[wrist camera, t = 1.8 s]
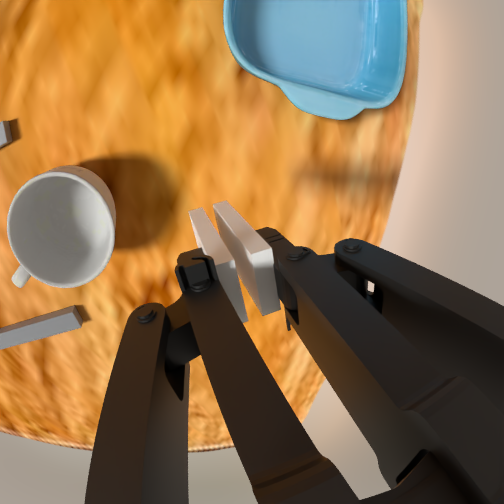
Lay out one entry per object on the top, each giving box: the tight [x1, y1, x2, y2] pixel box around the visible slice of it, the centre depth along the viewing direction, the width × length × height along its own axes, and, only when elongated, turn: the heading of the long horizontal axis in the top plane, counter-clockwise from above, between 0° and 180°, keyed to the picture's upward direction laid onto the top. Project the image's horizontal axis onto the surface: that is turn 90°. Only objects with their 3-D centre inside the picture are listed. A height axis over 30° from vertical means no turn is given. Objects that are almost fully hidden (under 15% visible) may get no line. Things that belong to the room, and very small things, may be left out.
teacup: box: [7, 165, 116, 288], centre depth 24 cm, size 14×11×8 cm
